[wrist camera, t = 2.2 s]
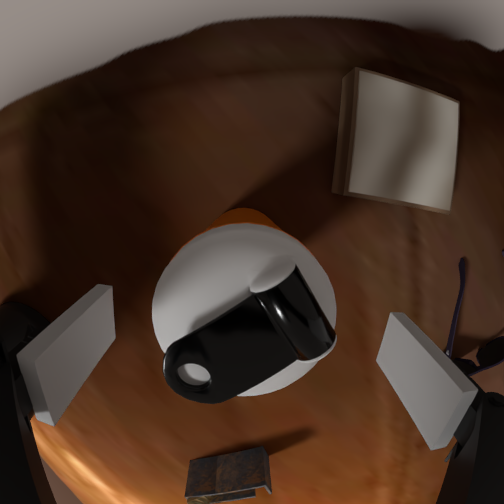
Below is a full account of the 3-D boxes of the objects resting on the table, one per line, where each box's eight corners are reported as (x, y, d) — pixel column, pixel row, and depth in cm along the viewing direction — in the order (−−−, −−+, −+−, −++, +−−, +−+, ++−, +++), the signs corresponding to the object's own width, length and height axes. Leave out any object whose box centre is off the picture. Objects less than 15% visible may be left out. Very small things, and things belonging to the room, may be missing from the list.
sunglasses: (429, 369, 37) (446, 389, 32) (441, 260, 33) (465, 273, 28) (496, 344, 37) (514, 358, 32) (511, 245, 33) (534, 254, 28)
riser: (331, 192, 30) (344, 195, 26) (342, 78, 28) (356, 65, 23) (430, 209, 31) (451, 215, 27) (439, 106, 28) (461, 101, 24)
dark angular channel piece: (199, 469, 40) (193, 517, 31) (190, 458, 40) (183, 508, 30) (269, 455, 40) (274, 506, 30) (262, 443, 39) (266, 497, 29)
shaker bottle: (179, 238, 31) (93, 335, 12) (249, 178, 30) (260, 187, 11) (238, 302, 33) (234, 453, 14) (306, 248, 32) (390, 355, 12)
